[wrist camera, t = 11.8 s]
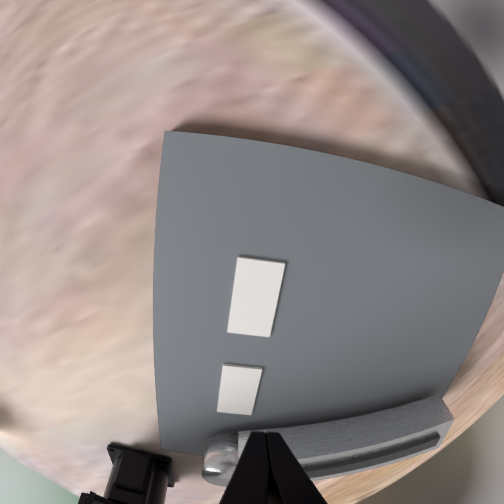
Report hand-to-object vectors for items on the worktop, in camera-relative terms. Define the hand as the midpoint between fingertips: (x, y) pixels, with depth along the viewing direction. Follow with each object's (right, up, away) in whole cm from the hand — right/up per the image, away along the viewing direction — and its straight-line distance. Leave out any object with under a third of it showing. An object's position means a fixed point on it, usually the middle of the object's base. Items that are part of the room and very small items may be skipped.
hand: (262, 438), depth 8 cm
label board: (+5, -1, +11) cm, 12 cm away
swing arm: (+6, -9, +12) cm, 16 cm away
